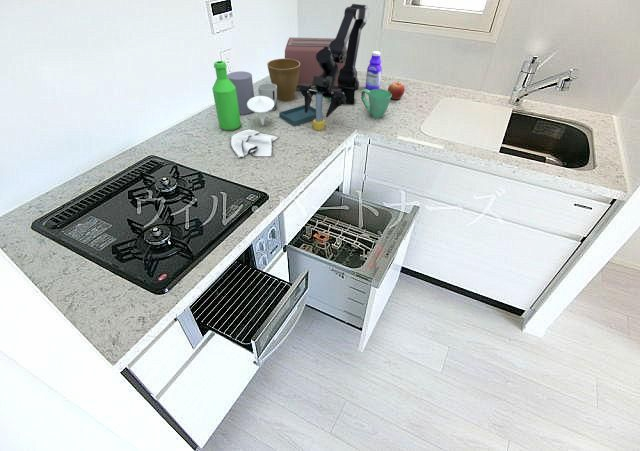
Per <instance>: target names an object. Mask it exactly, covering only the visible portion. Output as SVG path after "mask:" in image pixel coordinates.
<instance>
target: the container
mask: <svg viewBox="0 0 640 451" xmlns="http://www.w3.org/2000/svg"><path fill="white" fill-rule="evenodd" d="M227 77H228V79H229V80H230V81H231V82H232V83H233V85H234V86H235V87H236V94H237V100H238V107H239V114H240V115H250V114H252V113H253V112H254V111H252V110H250V109H249V108H248V106H247V102H248V101H249V100H250V99H251V98H253V97H255V92H254V84H253V83H254V82H253V75H252V73H251V72H248V71H243V70H241V71H240V70H239V71H232V72H230V73H227ZM254 113H255V112H254Z"/></svg>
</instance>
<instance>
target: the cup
mask: <svg viewBox="0 0 640 451" xmlns="http://www.w3.org/2000/svg"><path fill="white" fill-rule="evenodd" d="M257 89H258V94H259V95H258V96H266V97H269V98H271V99H272V100H273V101H274V107H273V108H272V109H271V110H269V111H268V112H273V111H275V110H276V106H277V101H278V97H277V85H275V84H272V82H267V83H266V82H265V83H261V84H258V86H257Z"/></svg>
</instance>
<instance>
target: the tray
mask: <svg viewBox="0 0 640 451" xmlns="http://www.w3.org/2000/svg"><path fill="white" fill-rule="evenodd" d="M278 116H279V118H280V119H281V120H283V121H285V122H287V123H288V124H290V125H292V126H294V127H296V126H299V125H302V124H305V123H308V122H311V121H313V120H314V119H316V107H313V106H311V105H310V106H309V109H308V111H307V113H305V104H302V105H299V106H296V107H293V108H289V109H286V110H281V111H279V112H278Z"/></svg>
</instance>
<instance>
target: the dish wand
mask: <svg viewBox="0 0 640 451" xmlns="http://www.w3.org/2000/svg"><path fill="white" fill-rule="evenodd" d="M323 98H324V97H323V94H322V93H316V95H315V109H316V119H314V120H312V129H313V130H315V131H316V130H317V131H323V130H324V129H325V126H326V125H325V124H326V121H325V119H324V118H323V101H324V100H323Z"/></svg>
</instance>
